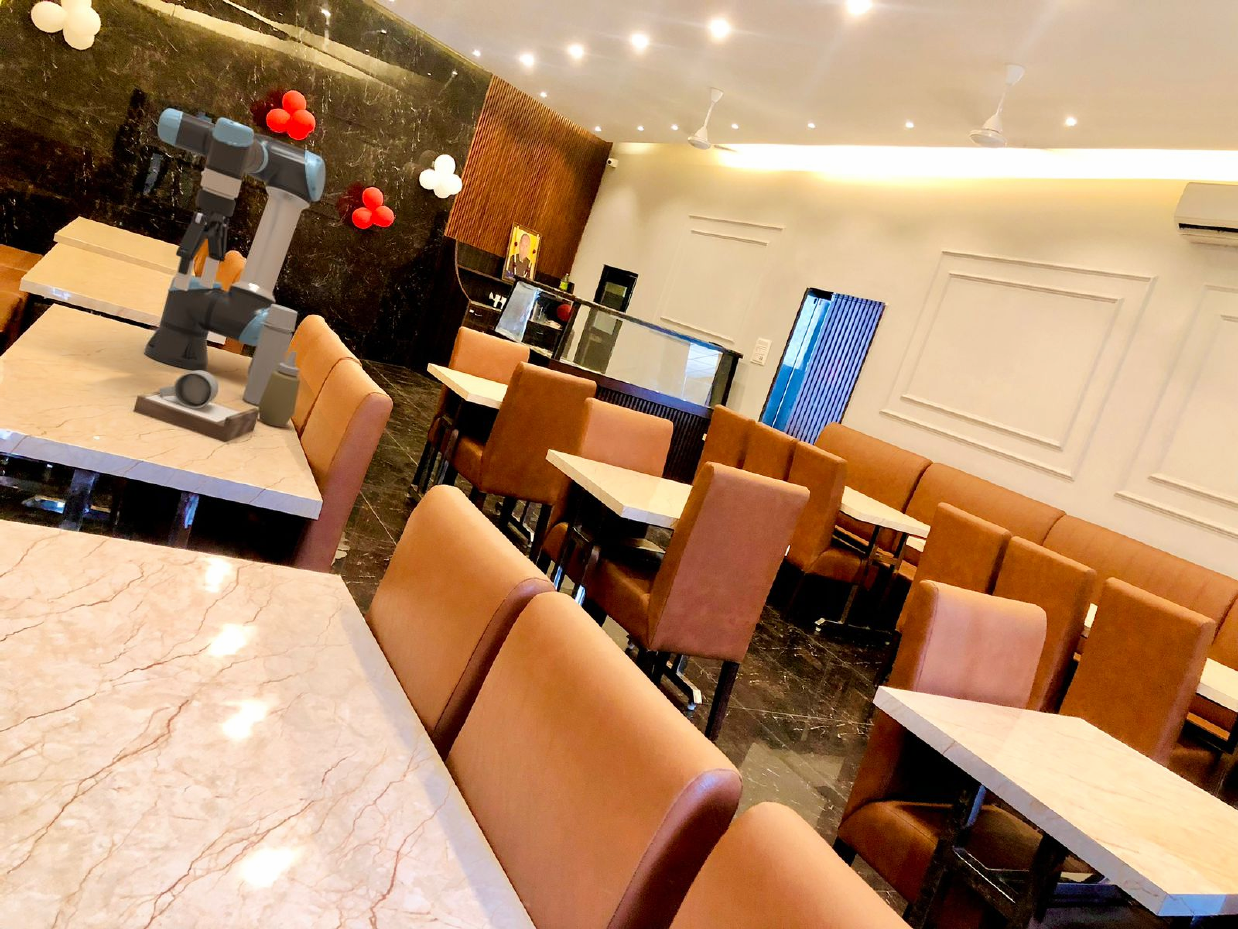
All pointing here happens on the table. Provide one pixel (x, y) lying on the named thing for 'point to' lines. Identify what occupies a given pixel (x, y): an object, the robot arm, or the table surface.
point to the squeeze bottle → (280, 394)
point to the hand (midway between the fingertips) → (193, 287)
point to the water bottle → (269, 350)
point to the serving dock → (199, 419)
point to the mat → (206, 412)
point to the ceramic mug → (193, 389)
